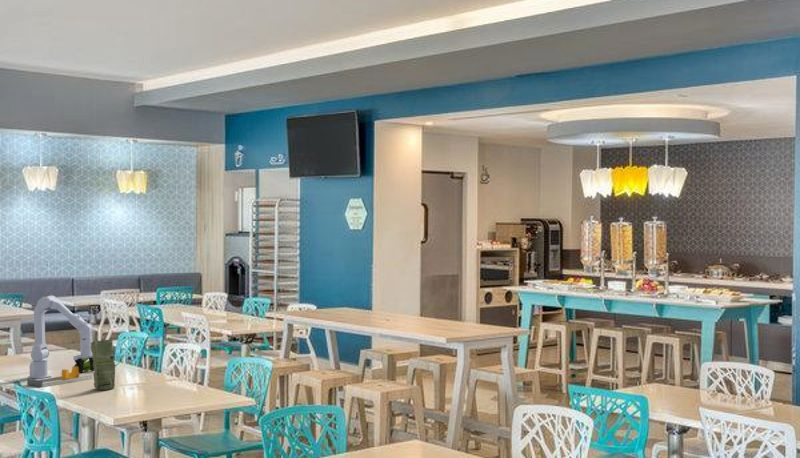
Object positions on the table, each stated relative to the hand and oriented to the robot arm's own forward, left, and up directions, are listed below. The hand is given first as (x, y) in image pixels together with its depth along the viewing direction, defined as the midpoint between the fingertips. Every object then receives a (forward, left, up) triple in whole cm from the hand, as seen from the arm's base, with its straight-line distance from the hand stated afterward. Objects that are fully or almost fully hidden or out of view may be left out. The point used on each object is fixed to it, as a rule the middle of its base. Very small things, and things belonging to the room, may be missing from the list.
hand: (86, 371), depth 495 cm
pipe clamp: (0, -11, -3) cm, 12 cm away
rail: (0, -16, -3) cm, 16 cm away
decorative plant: (-15, +20, -3) cm, 25 cm away
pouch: (+37, -16, -3) cm, 40 cm away
